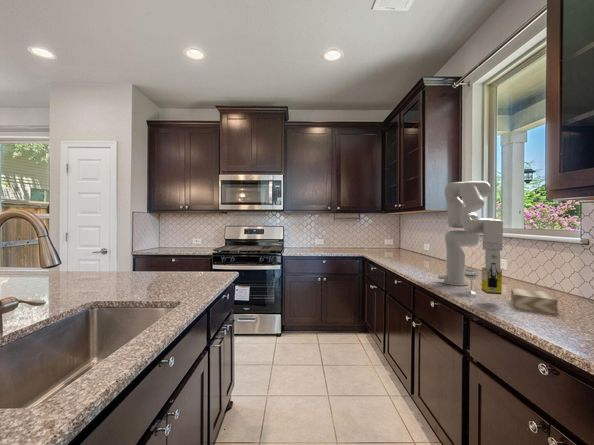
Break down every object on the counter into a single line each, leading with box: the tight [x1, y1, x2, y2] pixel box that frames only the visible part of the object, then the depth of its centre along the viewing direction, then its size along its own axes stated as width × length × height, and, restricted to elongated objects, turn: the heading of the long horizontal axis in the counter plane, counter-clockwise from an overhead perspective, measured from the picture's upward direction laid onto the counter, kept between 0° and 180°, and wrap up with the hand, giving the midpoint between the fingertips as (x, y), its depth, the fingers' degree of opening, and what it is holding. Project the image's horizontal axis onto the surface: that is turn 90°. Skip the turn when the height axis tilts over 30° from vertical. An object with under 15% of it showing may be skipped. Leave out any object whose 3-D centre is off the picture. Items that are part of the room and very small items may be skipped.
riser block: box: [510, 287, 559, 314], centre depth 125 cm, size 14×14×6 cm
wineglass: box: [464, 268, 480, 295], centre depth 149 cm, size 7×7×12 cm
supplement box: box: [481, 266, 503, 295], centre depth 130 cm, size 6×6×11 cm
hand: (491, 285), depth 130 cm, fingers closed on supplement box, 7 cm apart
